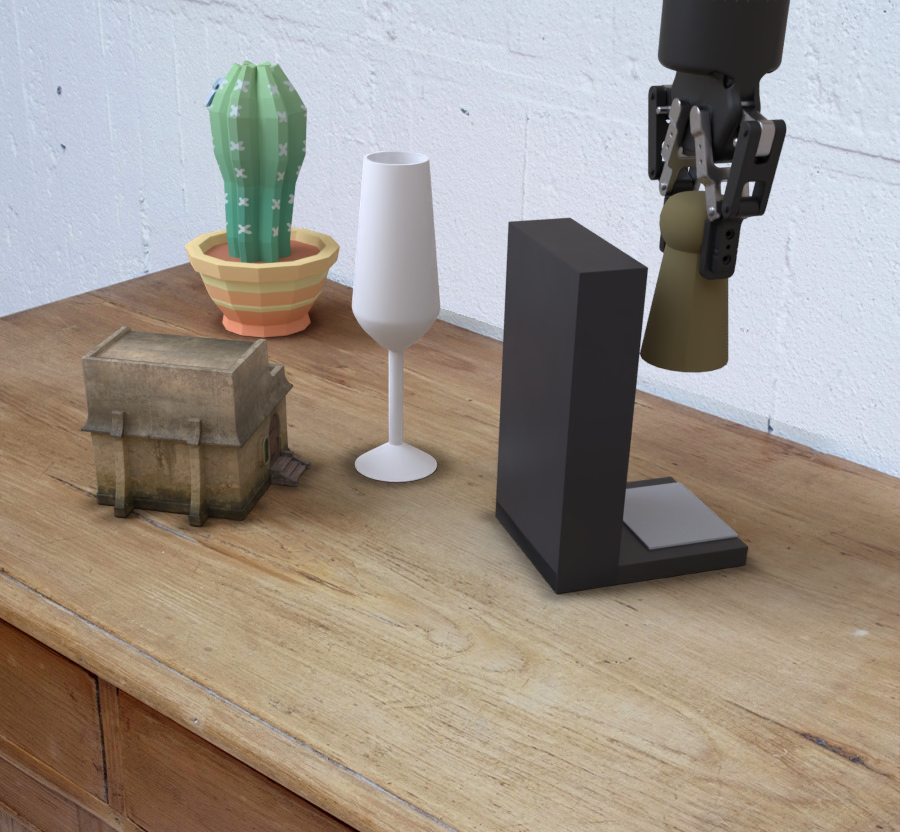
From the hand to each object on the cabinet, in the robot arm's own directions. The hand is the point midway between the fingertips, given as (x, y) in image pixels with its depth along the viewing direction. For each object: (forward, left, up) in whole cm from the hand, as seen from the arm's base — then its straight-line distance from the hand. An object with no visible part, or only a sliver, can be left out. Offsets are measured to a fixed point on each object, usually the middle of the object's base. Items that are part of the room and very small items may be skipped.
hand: (695, 263), depth 87 cm
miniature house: (+31, -18, -20) cm, 41 cm away
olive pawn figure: (0, 0, -7) cm, 7 cm away
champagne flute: (+16, -17, -20) cm, 30 cm away
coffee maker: (+5, 0, -20) cm, 20 cm away
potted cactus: (+19, -54, -20) cm, 60 cm away
